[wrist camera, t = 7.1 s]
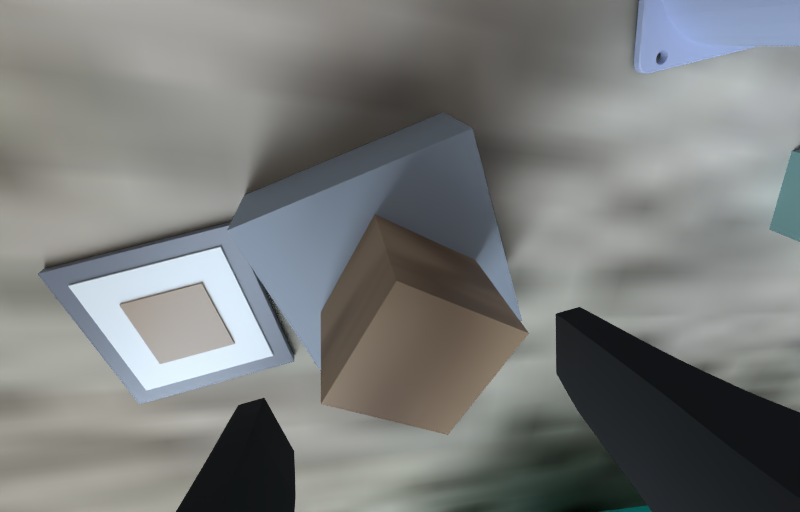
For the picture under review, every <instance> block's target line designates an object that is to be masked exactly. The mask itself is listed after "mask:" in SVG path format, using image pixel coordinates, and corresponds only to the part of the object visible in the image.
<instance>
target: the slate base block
mask: <svg viewBox="0 0 800 512" xmlns="http://www.w3.org/2000/svg"><path fill="white" fill-rule="evenodd" d="M374 214H375V215H377V216H380V217H382V218H384V219H386V220H388V221H391V222H393V223H395V224H397V225H399V226H402V227H404V228H406V229H408V230H410V231H412V232H415V233H417V234H419V235H421V236H423V237H426V238H428V239H430V240H432V241H434V242H437V243H439V244H441V245H443V246H445V247H447V248H450V249H452V250H454V251H456V252H458V253H461V254H463V255H465V256H467V257H469V258H472V259H474V260H476V261H477V263H478V264H479V265H480V267H481V268H482V270H483V271H484V272H485V274H486V275H487V276H488V278H489V279H490V281H491V282H492V283H493V285H494V286H495V287H496V289H497V290H498V292H499V293H500V294H501V296H502V297H503V298H504V300H505V301H506V303H507V304H508V305H509V307H510V308H511V309H512V311H513V312H514V314H515V315H516V316H517V318H518V319H519V320H520V321H522V319H521V315H520V311H519V307H518V303H517V300H516V296H515V292H514V288H513V284H512V280H511V276H510V272H509V268H508V264H507V261H506V257H505V253H504V249H503V245H502V241H501V237H500V233H499V229H498V225H497V222H496V218H495V214H494V210H493V206H492V202H491V198H490V194H489V190H488V186H487V183H486V179H485V175H484V171H483V167H482V163H481V159H480V155H479V151H478V147H477V143H476V140H475V136H474V132H473V128H471V127H469V126H467V125H466V124H464V123H462V122H460V121H458V120H457V119H455V118H453V117H451V116H449V115H447V114H446V113H444V112H443V113H440V114H438V115H435V116H433V117H431V118H428V119H426V120H423V121H421V122H419V123H416V124H414V125H411V126H409V127H407V128H404V129H402V130H399V131H397V132H395V133H392V134H390V135H387V136H385V137H383V138H380V139H378V140H375V141H373V142H371V143H368V144H366V145H363V146H361V147H359V148H356V149H354V150H351V151H349V152H347V153H344V154H342V155H339V156H337V157H335V158H332V159H330V160H327V161H325V162H323V163H320V164H318V165H316V166H313V167H311V168H308V169H306V170H304V171H301V172H299V173H296V174H294V175H292V176H289V177H287V178H284V179H282V180H280V181H277V182H275V183H272V184H270V185H268V186H265V187H263V188H260V189H258V190H256V191H253V192H251V193H248V194H246V195H244V197H243V199H242V201H241V203H240V205H239V207H238V209H237V211H236V213H235V215H234V217H233V219H232V221H231V223H230V225H229V227H228V229H227V231H228V233H229V234H230V236H231V237H232V239H233V240H234V242H235V243H236V245H237V246H238V248H239V249H240V251H241V252H242V254H243V255H244V257H245V258H246V260H247V261H248V263H249V264H250V266H251V267H252V269H253V270H254V272H255V273H256V275H257V276H258V278H259V279H260V281H261V282H262V284H263V285H264V287H265V288H266V290H267V291H268V293H269V294H270V296H271V297H272V299H273V300H274V302H275V303H276V305H277V306H278V308H279V309H280V311H281V312H282V314H283V315H284V317H285V318H286V320H287V321H288V323H289V324H290V326H291V327H292V329H293V330H294V332H295V333H296V335H297V336H298V338H299V339H300V341H301V342H302V344H303V345H304V347H305V348H306V350H307V351H308V353H309V354H310V356H311V357H312V359H313V360H314V362H315V363H316V365H317V366H318V368H319V369H320V371H321V311H322V309H323V307H324V305H325V303H326V302H327V300H328V298H329V296H330V294H331V293H332V291H333V289H334V287H335V285H336V283H337V282H338V280H339V278H340V276H341V274H342V273H343V271H344V269H345V267H346V265H347V264H348V262H349V260H350V258H351V256H352V254H353V253H354V251H355V249H356V247H357V245H358V244H359V242H360V240H361V238H362V236H363V234H364V233H365V231H366V229H367V227H368V225H369V224H370V222H371V220H372V218H373V216H374Z"/></svg>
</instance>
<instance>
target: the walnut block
mask: <svg viewBox="0 0 800 512" xmlns="http://www.w3.org/2000/svg"><path fill="white" fill-rule="evenodd" d="M528 334H529V333H528V331H527V330H526V329H525V327H524V326H523V325H522V323H521V322H520V320H519V319H518V318H517V316H516V315H515V314H514V312H513V311H512V309H511V308H510V307H509V305H508V304H507V303H506V301H505V300H504V298H503V297H502V296H501V294H500V293H499V292H498V290H497V289H496V287H495V286H494V285H493V283H492V282H491V281H490V279H489V278H488V276H487V275H486V274H485V272H484V271H483V270H482V268H481V267H480V265H479V264H478V263H477V261H476V260H474V259H472V258H469V257H467V256H465V255H463V254H461V253H458V252H456V251H454V250H452V249H450V248H447V247H445V246H443V245H441V244H439V243H437V242H434V241H432V240H430V239H428V238H426V237H423V236H421V235H419V234H417V233H415V232H412V231H410V230H408V229H406V228H404V227H402V226H399V225H397V224H395V223H393V222H391V221H388V220H386V219H384V218H382V217H380V216H377V215H375V214H374V216H373V218H372V220H371V222H370V224H369V225H368V227H367V229H366V231H365V233H364V234H363V236H362V238H361V240H360V242H359V244H358V245H357V247H356V249H355V251H354V253H353V254H352V256H351V258H350V260H349V262H348V264H347V265H346V267H345V269H344V271H343V273H342V274H341V276H340V278H339V280H338V282H337V283H336V285H335V287H334V289H333V291H332V293H331V294H330V296H329V298H328V300H327V302H326V303H325V305H324V307H323V309H322V311H321V404H323V405H327V406H332V407H336V408H340V409H344V410H348V411H352V412H356V413H360V414H365V415H369V416H373V417H377V418H381V419H385V420H389V421H393V422H397V423H402V424H406V425H410V426H414V427H418V428H422V429H426V430H430V431H435V432H439V433H443V434H447V435H448V434H449V433H450V431H451V430H452V429H453V428H454V426H455V425H456V424H457V423H458V421H459V420H460V419H461V418H462V416H463V415H464V414H465V413H466V411H467V410H468V409H469V408H470V406H471V405H472V404H473V403H474V401H475V400H476V399H477V398H478V396H479V395H480V394H481V393H482V391H483V390H484V389H485V388H486V386H487V385H488V384H489V382H490V381H491V380H492V379H493V377H494V376H495V375H496V374H497V372H498V371H499V370H500V369H501V367H502V366H503V365H504V364H505V362H506V361H507V360H508V359H509V357H510V356H511V355H512V354H513V352H514V351H515V350H516V349H517V347H518V346H519V345H520V344H521V342H522V341H523V340H524V339H525V337H526V336H527V335H528Z"/></svg>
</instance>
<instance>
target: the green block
mask: <svg viewBox="0 0 800 512" xmlns="http://www.w3.org/2000/svg"><path fill="white" fill-rule="evenodd" d="M770 230H772V231H775V232H777V233H780V234H782V235H784V236H787V237H789V238H792V239H794V240H797V241H799V242H800V149H798V150H795V151H792V152H791V156H790V159H789V163H788V166H787V170H786V173H785V177H784V180H783V184H782V187H781V191H780V194H779V198H778V201H777V205H776V208H775V212H774V215H773V219H772V222H771V226H770Z"/></svg>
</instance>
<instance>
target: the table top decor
mask: <svg viewBox="0 0 800 512" xmlns="http://www.w3.org/2000/svg"><path fill="white" fill-rule="evenodd" d="M600 512H652V511H651V510H650V509H649V507H648V506H647V505H646V506H638V507H631V508H623V509H615V510H608V511H600Z"/></svg>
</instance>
